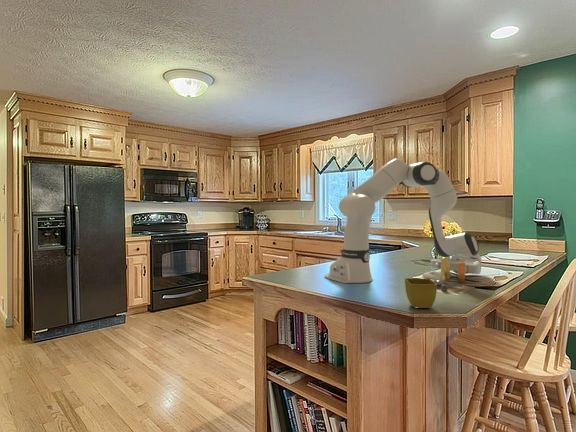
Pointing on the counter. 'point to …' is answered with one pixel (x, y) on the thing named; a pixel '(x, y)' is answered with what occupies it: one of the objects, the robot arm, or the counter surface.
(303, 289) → the counter surface
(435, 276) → the dish
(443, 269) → the pin
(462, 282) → the crank
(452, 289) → the crank base
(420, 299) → the flower pot
